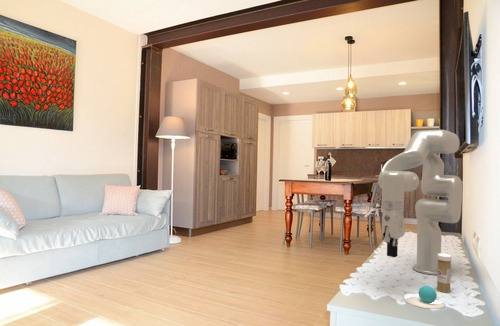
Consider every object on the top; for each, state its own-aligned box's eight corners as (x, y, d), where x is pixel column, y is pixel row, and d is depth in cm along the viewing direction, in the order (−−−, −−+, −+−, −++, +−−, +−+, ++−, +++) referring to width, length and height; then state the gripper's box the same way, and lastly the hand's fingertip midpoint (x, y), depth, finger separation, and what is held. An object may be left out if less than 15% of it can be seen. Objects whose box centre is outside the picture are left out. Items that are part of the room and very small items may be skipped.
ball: (431, 303, 122) (417, 291, 124) (441, 291, 120) (426, 280, 123) (428, 308, 117) (413, 296, 120) (438, 296, 115) (423, 284, 118)
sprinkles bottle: (434, 289, 132) (434, 253, 132) (441, 287, 134) (442, 252, 134) (445, 293, 128) (446, 256, 128) (453, 291, 130) (454, 255, 130)
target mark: (410, 291, 130) (410, 290, 130) (450, 301, 121) (450, 300, 121) (396, 300, 121) (396, 300, 121) (438, 312, 112) (438, 311, 112)
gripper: (395, 209, 120) (394, 262, 121) (410, 205, 131) (410, 254, 131) (373, 206, 126) (373, 258, 126) (390, 203, 136) (390, 250, 136)
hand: (392, 256), depth 128 cm, fingers closed
